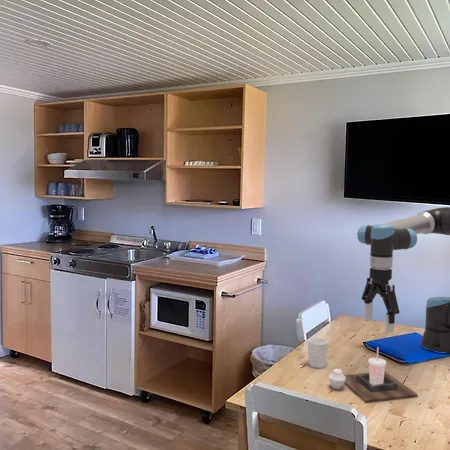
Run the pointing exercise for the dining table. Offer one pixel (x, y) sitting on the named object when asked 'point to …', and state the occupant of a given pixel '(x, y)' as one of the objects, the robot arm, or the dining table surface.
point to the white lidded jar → (337, 379)
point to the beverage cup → (376, 370)
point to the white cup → (317, 352)
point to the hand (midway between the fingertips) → (378, 326)
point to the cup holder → (378, 388)
